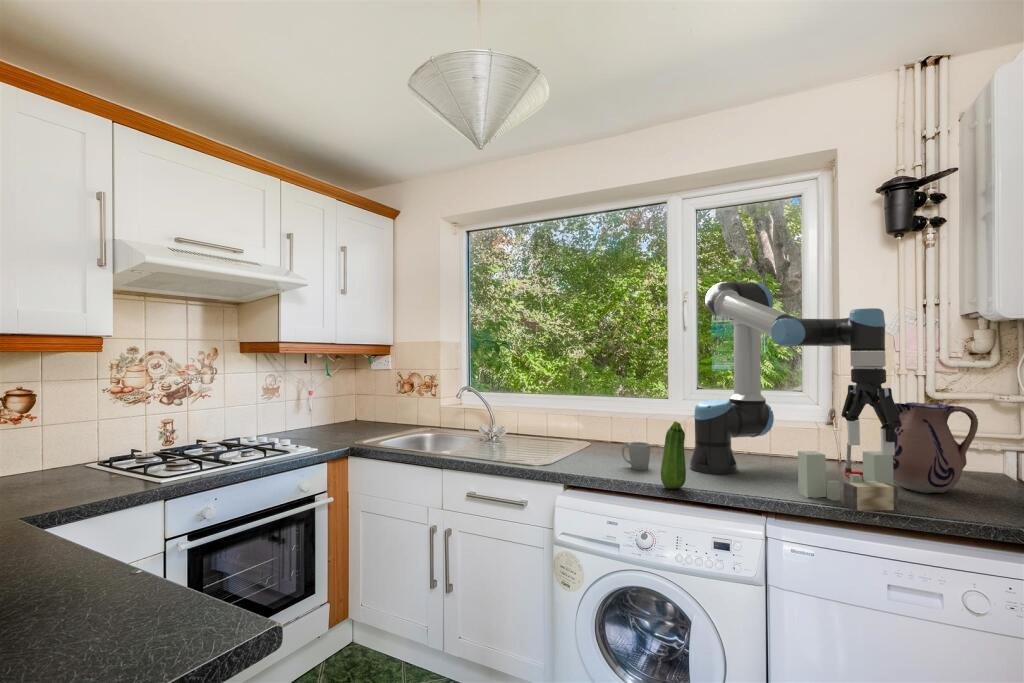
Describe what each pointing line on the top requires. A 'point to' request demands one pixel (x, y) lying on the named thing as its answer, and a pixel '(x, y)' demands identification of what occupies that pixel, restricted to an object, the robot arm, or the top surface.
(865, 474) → the pale green fixture block
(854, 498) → the wooden block
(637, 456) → the cup
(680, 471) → the vegetable
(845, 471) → the tow hook
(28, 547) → the top surface
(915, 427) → the ceramic pitcher
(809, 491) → the pale green stepped block
